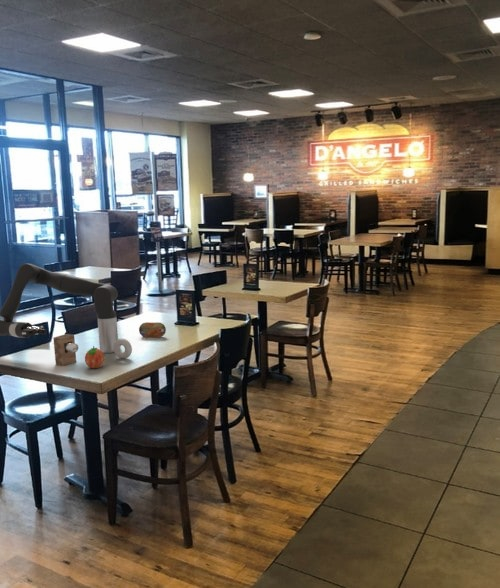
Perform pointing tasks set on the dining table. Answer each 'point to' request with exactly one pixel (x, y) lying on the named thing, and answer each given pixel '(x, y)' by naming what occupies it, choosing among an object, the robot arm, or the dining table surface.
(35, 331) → the robot arm
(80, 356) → the dining table surface
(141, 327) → the tin
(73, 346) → the peg
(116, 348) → the donut
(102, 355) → the fruit
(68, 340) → the wooden block
